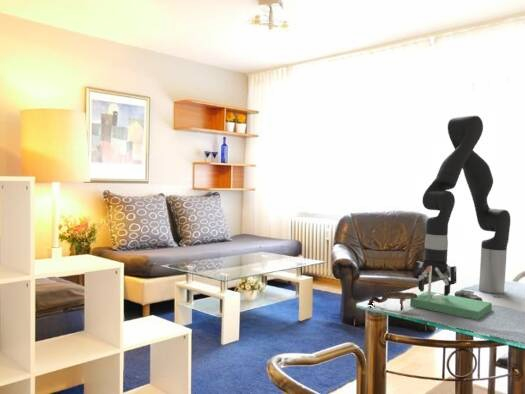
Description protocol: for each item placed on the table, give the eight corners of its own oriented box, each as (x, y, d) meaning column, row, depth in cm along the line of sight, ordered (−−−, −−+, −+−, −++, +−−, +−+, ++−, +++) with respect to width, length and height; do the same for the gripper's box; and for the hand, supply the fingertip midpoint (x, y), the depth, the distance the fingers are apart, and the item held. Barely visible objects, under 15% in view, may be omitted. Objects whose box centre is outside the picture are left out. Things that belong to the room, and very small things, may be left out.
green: (427, 297, 174) (427, 291, 174) (491, 310, 160) (491, 302, 160) (410, 305, 162) (410, 298, 162) (477, 319, 148) (478, 311, 147)
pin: (428, 300, 159) (429, 265, 159) (430, 301, 159) (432, 266, 158) (424, 302, 157) (426, 266, 156) (427, 302, 156) (429, 267, 156)
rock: (487, 303, 170) (488, 292, 169) (470, 307, 164) (471, 295, 164) (468, 298, 176) (468, 287, 176) (451, 301, 170) (452, 290, 170)
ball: (433, 293, 167) (445, 293, 164) (434, 305, 166) (446, 305, 164) (429, 293, 164) (441, 293, 161) (430, 305, 163) (442, 305, 160)
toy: (382, 325, 156) (420, 301, 152) (366, 303, 157) (403, 279, 154) (383, 321, 161) (420, 297, 157) (367, 299, 163) (404, 276, 159)
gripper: (460, 248, 162) (458, 295, 163) (420, 244, 171) (417, 288, 172) (453, 250, 156) (450, 299, 157) (412, 245, 166) (409, 291, 166)
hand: (433, 293), depth 164 cm, fingers open, 8 cm apart
